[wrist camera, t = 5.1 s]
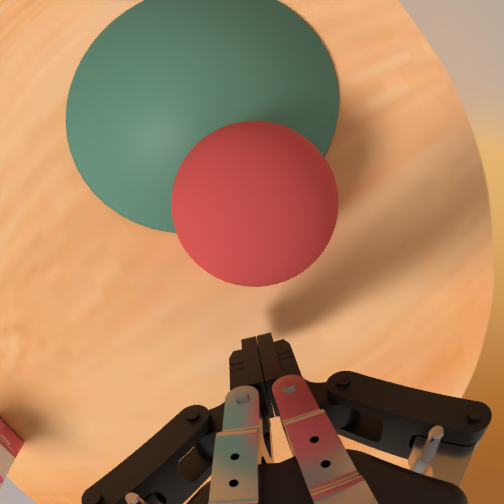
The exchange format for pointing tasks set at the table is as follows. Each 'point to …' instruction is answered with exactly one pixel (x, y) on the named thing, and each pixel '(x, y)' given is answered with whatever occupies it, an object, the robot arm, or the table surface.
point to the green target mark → (190, 93)
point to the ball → (254, 203)
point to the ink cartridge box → (7, 449)
